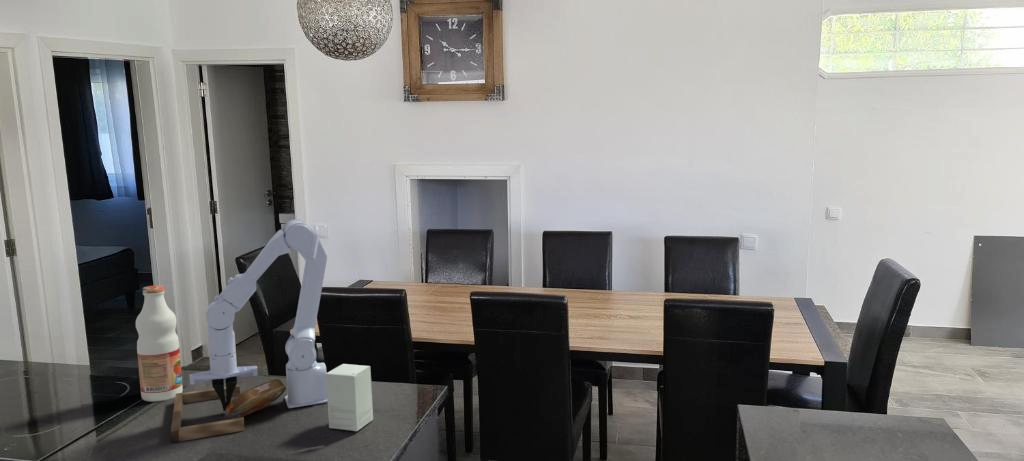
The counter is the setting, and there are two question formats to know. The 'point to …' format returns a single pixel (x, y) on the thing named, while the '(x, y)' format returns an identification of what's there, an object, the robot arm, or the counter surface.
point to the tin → (255, 399)
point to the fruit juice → (158, 348)
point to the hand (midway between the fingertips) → (226, 409)
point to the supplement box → (349, 397)
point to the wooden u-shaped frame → (206, 428)
